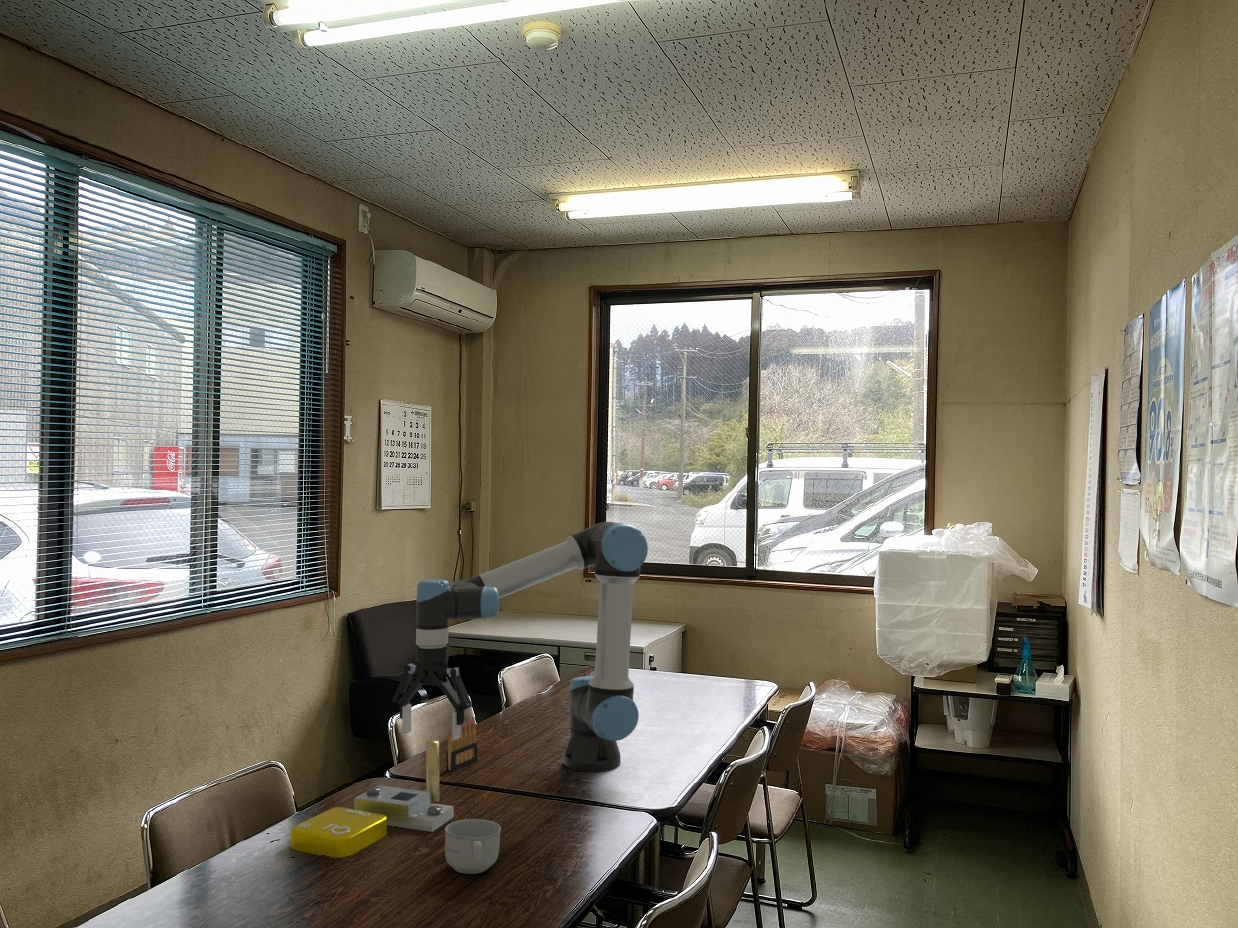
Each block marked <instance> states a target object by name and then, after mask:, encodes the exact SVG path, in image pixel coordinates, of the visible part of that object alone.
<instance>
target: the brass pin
mask: <svg viewBox="0 0 1238 928" xmlns="http://www.w3.org/2000/svg"><path fill="white" fill-rule="evenodd" d="M425 755H426V757H425V758H426V759H425V760H426V761H425V762H426V764H425V766H426V767H425V768H426V769H425V773H426V775H425V776H426V777H425V781H426V782H425V788H426V789H425V791H427V792H430V803H434V804H437V803H439V802H440V740H438V739H429V740H427V741H426V742H425ZM436 802H437V803H436Z"/></svg>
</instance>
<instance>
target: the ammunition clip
mask: <svg viewBox="0 0 1238 928" xmlns="http://www.w3.org/2000/svg"><path fill="white" fill-rule="evenodd" d="M478 753H479V751H478V741H477V731H476V722H475V717H474V716H472V717H471V719H470V718H467V721H466V720H465V719H464V723H463V724H462V725H461V737H460V738H458V739H456V740H452V724H450V725H449V729H448V739H447V750H446V766H445V767H446V771H447V770H449V771H448V772H454V771H453V770H455V771H457V770H459V769H458V768H460V767H462V768H464V767H466V766H469V765H471V764H473V763H476V762H478V761H479V758H478V757H479V756H478ZM456 769H457V770H456ZM460 769H461V768H460Z"/></svg>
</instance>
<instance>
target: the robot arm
mask: <svg viewBox="0 0 1238 928" xmlns="http://www.w3.org/2000/svg"><path fill="white" fill-rule="evenodd" d="M648 550H649V547H648V542H647V539H646V536H645V535H644V534H643V532H642V531H641V530H640V529H638V527H635V525H632V524H629V523H625V522H614V521H602V522H599V523H596V524H594V525H591V526H589V527H587V528H584V529H583V530H580V531H579V532H576V533H574V534H571V535H568V536H567V537H566V540H565V541H564V542H560V543H559V544H556V545H553V546H551V547H548V548H545V549H543V550H540V551H538V552H534V553H533V554H530V555H528V556H525V557H522V558H520V559H517V560H514V561H512V562H510V563H507V564H504V565H502V566H499V567H497V568H494V569H492V570H489V571H487V572H484V573H481V574H478V575H476V576H474V577H471V578H468V579H461V580H456V581H454V582H453V583H452V584H451V585H450V582H449V581H448V580H447V579H435V578H434V579H423V580H420V581H419V582H418V583H417V591H416V600H415V602H416V604H415V605H416V608H415V609H416V611H415V612H416V613H415V614H416V618H415V619H416V630H415V632H416V633H415V634H416V635H415V644H416V646H417V647H416V648H415V662H416V664H414V663H413V662H412V663H408V664H406V665H404V666H403V667H404V669H403V673H402V677H401V679H400V681H399V683H398V685H397V688H396V690H395V691H394V692H395V693H394V695H393V696H392V700H391V701H392V702H393V703H396V704H398V706H399V719H401V721H402V722H401V726H402V727H401V728H402V729H401V735H406V734H409V733H410V732H412V703H410V701H411V700H412V699H413V698H414V696H415V695H416V694H417V692H419V690H420V688H421V687H422V686H431V687H438V688H439V689H440V690H441V691H442V692H443V694H444V695H445V697H446V698H447V700H448V701H449V703H450V704H451V706H452V708H454V710H453V711H452V713H451V715H452V719H451V720H452V722H451V723H452V740H456V739H458V738H460V737H461V725H462V724H463V723H464V720H465V710H467V709H470V708H472V706H473V705H472V701H471V698H470V696H469V694H468V692H467V691H468V690H466V686H465V684H464V682H463V679H462V677H461V669H460V667H459V666H457V667H453V668H449V666H448V662H449V646H448V644H449V626H450V625H449V620H468V619H469V620H473V619H474V620H475V619H483V620H486V619H490V618H495V617H497V616H498V614H499V612H500V599H501V598H505V597H506V596H509V595H512V594H514V593H516V592H517V593H518V592H519V591H521V590H523V589H526V588H529V587H532V586H534V585H537V584H540V583H542V582H544V581H546V580H549V579H552V578H555V577H557V576H559V575H562V574H564V573H567V572H569V571H572V570H576V569H578V570H579V571H582V570H585V569H587V568H590V567H594V576H595V578H596V579H597V580H598V581H599V593H598V595H599V596H598V612H597V628H596V629H597V630H596V649H595V664H594V675H585V676H584V675H583V676H578V677H574V678H572V679H571V680H570V683H569V684H570V685H569V703H570V704H569V709H570V710H569V712H570V713H569V717H570V718H569V719H570V722H569V723H570V726H569V727H570V728H569V729H570V733H569V734H570V735H569V737H568V741H567V744H566V748H565V751H564V755H563V766H565V767H566V768H568V769H571V770H574V771H578V772H587V773H588V772H589V773H590V772H604V771H609V770H612V769H615V768H617V767H619V766H620V765H621V752H620V748H619V745H618V743H617V741H621V740H623V739H625V738H627V737H629V736H630V735H631V734H632V733H633V731H634V730H635V729H636V727H637V725H638V722H639V718H640V717H639V709H638V707H637V704H636V703H635V701H634V694H635V693H634V691H635V690H634V689H635V684H634V683H633V681H632V680H631V679H630V677H629V672H630V668H629V667H630V652H631V651H630V650H631V635H632V634H631V633H632V615H633V602H634V601H633V599H634V597H633V596H634V585H635V583H636V582H637V581H638V579H640V578H641V566H643V563H645V561H646V559H647V556H648ZM415 673H416V675H417V678H416V679H415V680H414V681H413V682H412V683H413V684H412V685H411V686H410V687H409V685H410V682H411V680H412V678H413V676H414V674H415ZM447 676H448V677H449V678H450V680H451V681H450V680H449V678H448V677H447ZM451 683H452V685H451ZM408 687H409V688H408Z"/></svg>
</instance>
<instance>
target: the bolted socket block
mask: <svg viewBox="0 0 1238 928" xmlns="http://www.w3.org/2000/svg"><path fill="white" fill-rule="evenodd" d="M353 800H354V803H353V805H354V810H359V811H365V812H370V813H376V814H381V815H385V816H386V817H387V827H388V826H391V827H395V826H399V827H398V828H402V827H404V828H403V829H410V830H418V831H422V832H423V831H424V832H431V833H433V832H434V831H436V830H437V829H439V828H440V827H442V826H443V825H445V824H446V823H448V822H449V821H451V820H452V819H453V818H454V811H455V809H454V805H450V804H449V805H448V804H440V803H430V792H427V791H426V790H425V791H424V790H417V789H412V788H411V789H410V788H403V787H402V788H401V787H395V786H389V785H388V786H387V785H381V784H380V785H379V784H377V785H376V786H371V787H368V788H366V791H365V792H363V793H361V794H360V795H358V796H355V797H354V799H353Z"/></svg>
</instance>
